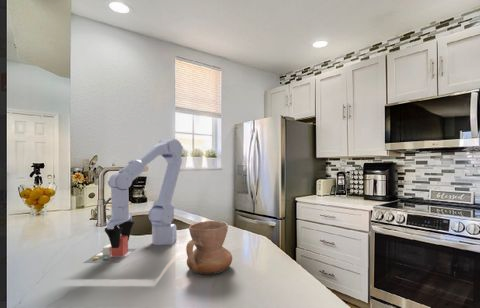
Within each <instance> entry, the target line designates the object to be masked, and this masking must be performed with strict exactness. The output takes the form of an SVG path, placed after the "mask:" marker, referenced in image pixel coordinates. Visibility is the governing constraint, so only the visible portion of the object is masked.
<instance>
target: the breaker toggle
mask: <svg viewBox="0 0 480 308" xmlns="http://www.w3.org/2000/svg"><path fill="white" fill-rule="evenodd" d="M102 251H103V255H111V254H112V246H111V243H109V244H106V245H105V246H103V247H102Z"/></svg>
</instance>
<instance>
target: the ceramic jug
mask: <svg viewBox="0 0 480 308" xmlns="http://www.w3.org/2000/svg"><path fill="white" fill-rule="evenodd" d="M228 225H229V224H228V223H227V222H226V221H220V220H205V221H199V222H196V223H193V224H190V225H189V227H188V230H189V234H190V237H191V240H189V241H188V242H187V243H186V247H185V250H186V256H187V259H186V265H187V268H188V269H189V270H191V272H194V273H196V274H202V275H213V274H214V275H215V274H218V273H221V272H223V271H225V270H227V269H228V268H229V267H230V266H231V264H232V261H233V254H232V252H230V250H229V249H226V248H225V247H224V246H223V245H224V243H225V241H226V238H227V237H226V236H227V234H228V229H229V227H228ZM194 246H195V249H194Z"/></svg>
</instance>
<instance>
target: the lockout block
mask: <svg viewBox="0 0 480 308" xmlns="http://www.w3.org/2000/svg"><path fill="white" fill-rule="evenodd" d="M128 249H129V241H128V236H121V235H120V243H119V247H118V248H112V256H123V255H125V254H126V253H127V252H128Z"/></svg>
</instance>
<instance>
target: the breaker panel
mask: <svg viewBox="0 0 480 308" xmlns="http://www.w3.org/2000/svg"><path fill="white" fill-rule="evenodd" d="M136 250H137V248H128V252H127V253H126V254H125V255H123V256H112V254H111V255H103V250H102V251H99V253H96V254H95V255H93V256H91V257H90V258H89V259H87V260H85V261H84V262H82V263H83V264H107V263H108V264H110V263H111V264H113V263H114V264H118V263H120V262H121V261H123V260H124V259H126V257H128V256H129V255H131V254H132V253H133V252H135V251H136Z"/></svg>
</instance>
